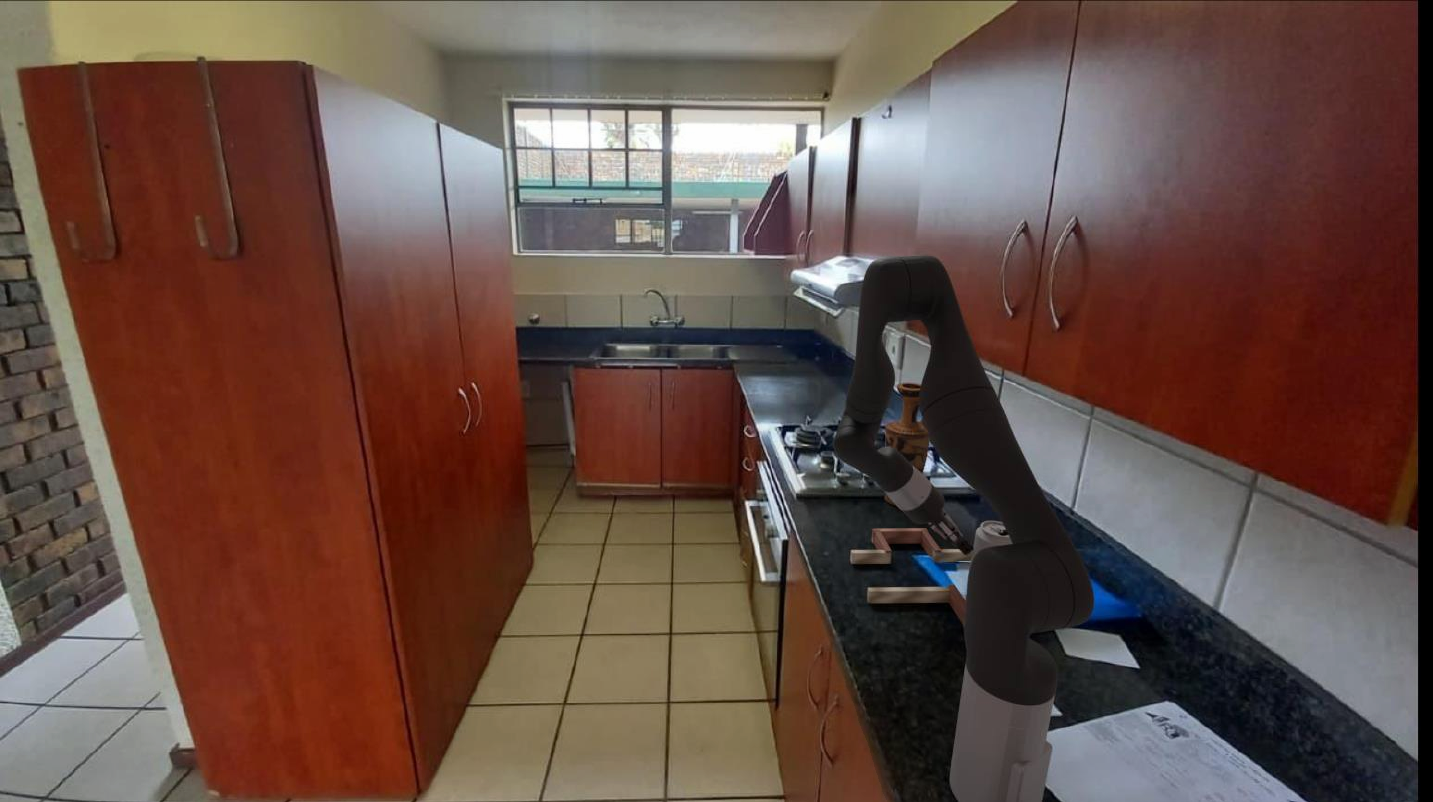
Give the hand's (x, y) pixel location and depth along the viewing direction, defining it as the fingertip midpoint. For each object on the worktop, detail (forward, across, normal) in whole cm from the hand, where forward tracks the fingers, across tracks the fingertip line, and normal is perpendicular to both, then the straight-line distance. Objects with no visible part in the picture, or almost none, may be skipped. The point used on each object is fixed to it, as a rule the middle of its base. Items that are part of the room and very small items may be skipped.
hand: (968, 550), depth 114 cm
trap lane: (+1, -1, +8) cm, 8 cm away
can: (+7, -2, +2) cm, 8 cm away
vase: (+4, +34, +5) cm, 35 cm away
